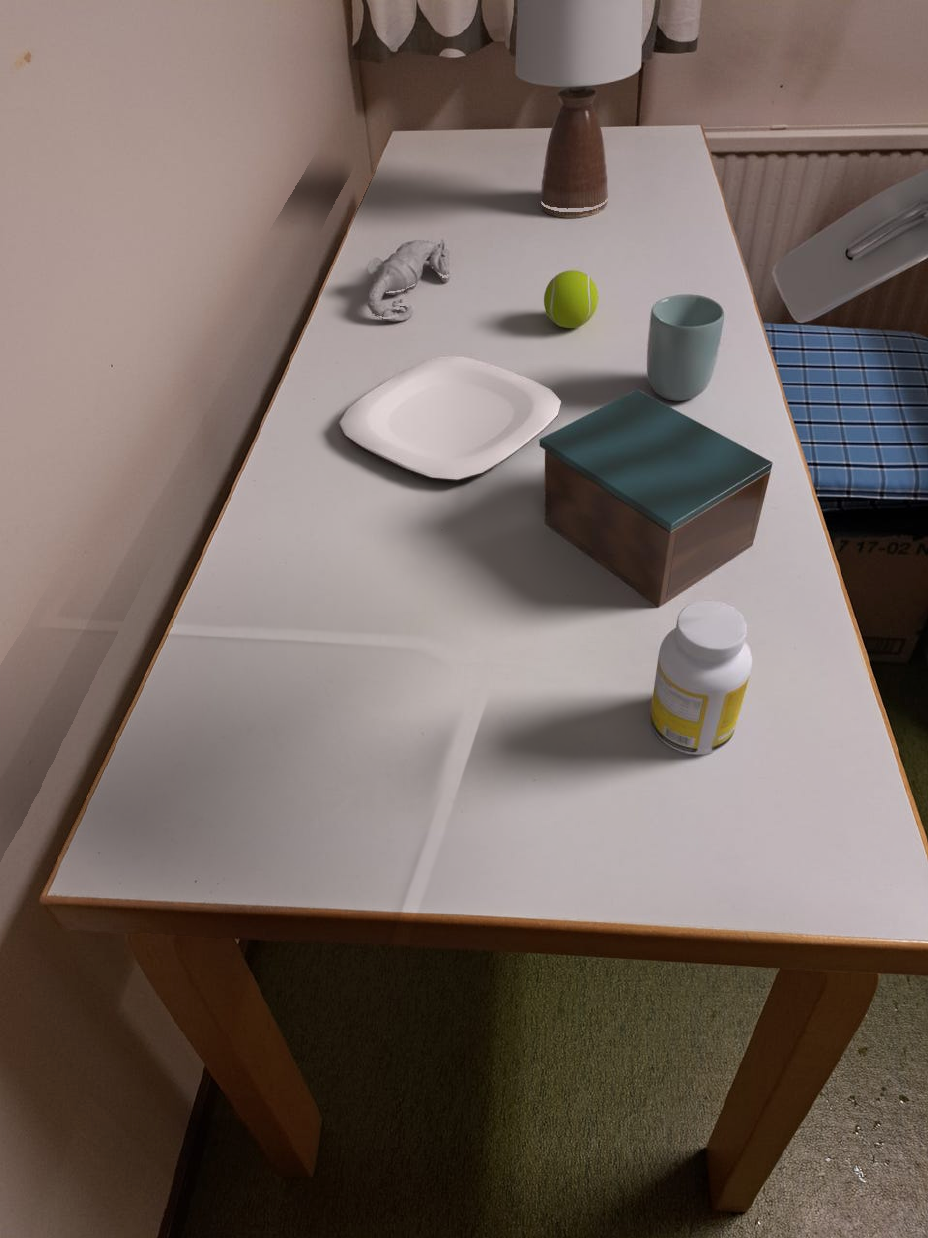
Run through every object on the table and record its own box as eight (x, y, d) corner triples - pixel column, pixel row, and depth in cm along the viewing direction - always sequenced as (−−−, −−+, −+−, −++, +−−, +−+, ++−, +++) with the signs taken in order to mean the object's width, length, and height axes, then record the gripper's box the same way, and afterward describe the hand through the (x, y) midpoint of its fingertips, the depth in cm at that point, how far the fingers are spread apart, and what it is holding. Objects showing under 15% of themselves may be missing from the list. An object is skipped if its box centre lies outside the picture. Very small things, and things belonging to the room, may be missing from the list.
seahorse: (436, 318, 112) (461, 235, 123) (353, 291, 111) (386, 209, 122) (428, 348, 117) (453, 265, 128) (348, 322, 115) (380, 240, 126)
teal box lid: (538, 446, 78) (538, 439, 77) (636, 395, 82) (636, 388, 82) (670, 532, 68) (671, 524, 68) (771, 469, 73) (773, 462, 72)
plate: (460, 505, 86) (459, 492, 85) (319, 435, 97) (316, 423, 96) (582, 410, 97) (583, 397, 96) (443, 356, 108) (442, 344, 106)
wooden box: (544, 523, 84) (544, 450, 77) (634, 471, 88) (642, 399, 82) (659, 608, 75) (670, 532, 68) (752, 545, 79) (771, 470, 73)
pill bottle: (735, 699, 67) (763, 597, 59) (731, 766, 63) (760, 666, 55) (653, 685, 69) (669, 584, 60) (643, 750, 64) (659, 650, 56)
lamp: (557, 238, 130) (562, -65, 104) (497, 201, 142) (487, -79, 115) (653, 208, 136) (682, -87, 109) (588, 175, 147) (598, -98, 121)
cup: (632, 382, 100) (639, 302, 93) (691, 368, 102) (702, 288, 94) (661, 415, 95) (671, 333, 88) (723, 400, 96) (738, 318, 89)
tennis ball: (596, 311, 113) (599, 260, 108) (596, 337, 108) (599, 284, 103) (544, 312, 114) (544, 261, 109) (542, 338, 109) (543, 285, 104)
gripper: (949, 273, 37) (737, 388, 50) (1168, 151, 45) (936, 277, 57) (887, 141, 36) (689, 292, 49) (1119, 40, 44) (896, 193, 57)
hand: (824, 283), depth 53 cm, fingers closed
